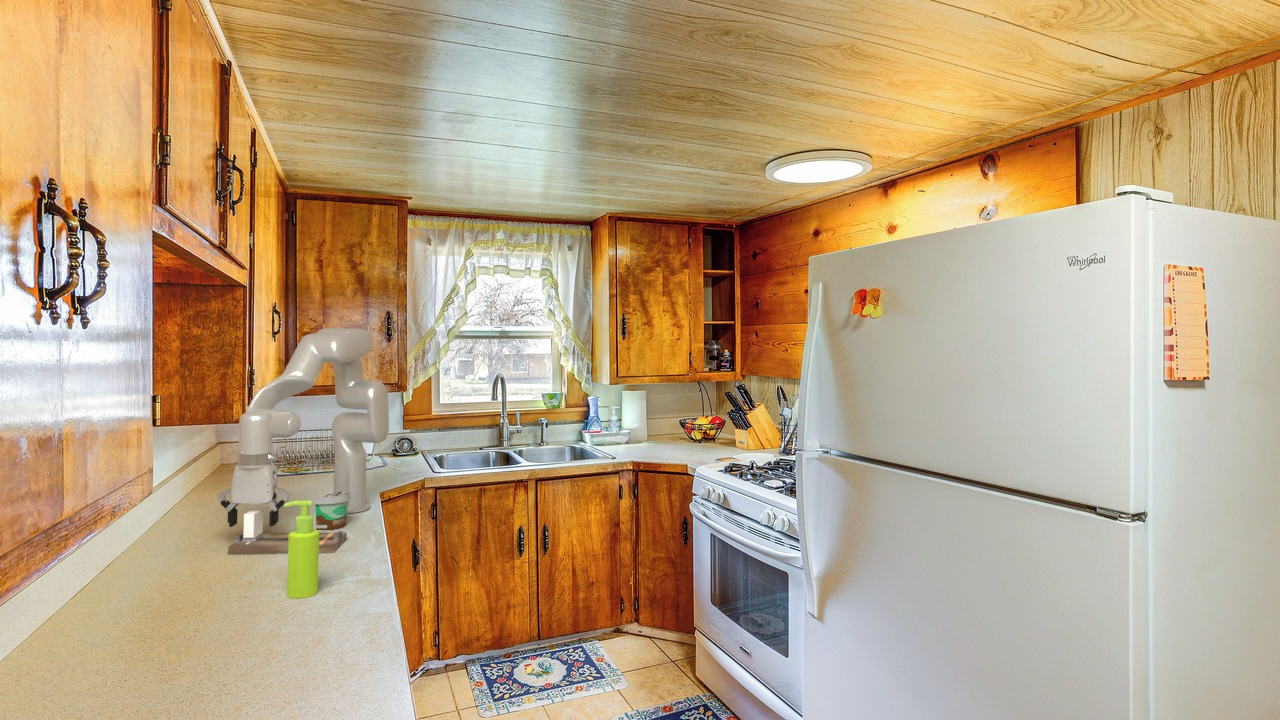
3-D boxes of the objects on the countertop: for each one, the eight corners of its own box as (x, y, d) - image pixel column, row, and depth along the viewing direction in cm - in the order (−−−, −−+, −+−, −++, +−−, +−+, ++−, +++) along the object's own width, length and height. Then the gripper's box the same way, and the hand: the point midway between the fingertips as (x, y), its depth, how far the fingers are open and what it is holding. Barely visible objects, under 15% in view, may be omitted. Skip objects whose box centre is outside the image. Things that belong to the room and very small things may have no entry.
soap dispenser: (282, 590, 144) (285, 499, 144) (318, 587, 147) (320, 497, 146) (280, 600, 139) (282, 505, 138) (316, 596, 141) (319, 503, 141)
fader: (251, 535, 176) (252, 508, 176) (263, 535, 177) (264, 508, 176) (242, 542, 170) (242, 514, 170) (254, 542, 171) (255, 514, 171)
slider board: (247, 540, 179) (248, 528, 179) (346, 539, 183) (346, 526, 183) (228, 554, 167) (228, 540, 167) (333, 552, 171) (334, 539, 171)
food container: (332, 533, 188) (333, 498, 188) (312, 531, 189) (313, 496, 189) (358, 523, 200) (359, 490, 200) (340, 521, 201) (341, 488, 201)
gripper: (295, 458, 178) (293, 521, 178) (225, 457, 175) (223, 522, 175) (285, 462, 171) (283, 528, 171) (212, 462, 168) (210, 529, 168)
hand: (253, 525), depth 173 cm, fingers open, 9 cm apart
